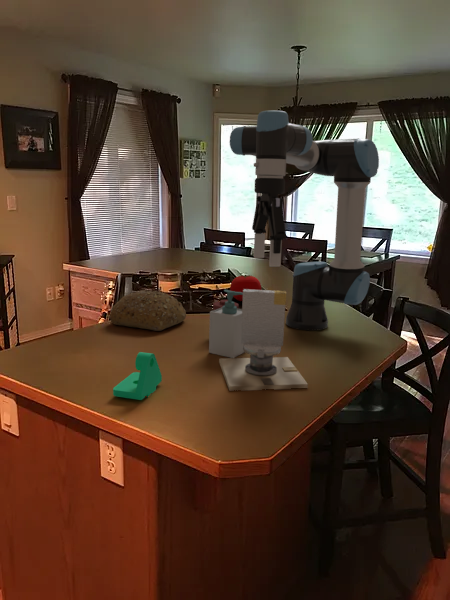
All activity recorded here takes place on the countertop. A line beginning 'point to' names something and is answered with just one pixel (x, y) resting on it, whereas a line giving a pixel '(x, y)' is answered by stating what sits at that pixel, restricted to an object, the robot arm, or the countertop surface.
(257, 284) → the tomato
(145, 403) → the countertop surface
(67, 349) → the countertop surface
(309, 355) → the countertop surface
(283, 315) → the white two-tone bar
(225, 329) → the soap bottle
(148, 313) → the bread
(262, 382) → the board
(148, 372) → the camera mount
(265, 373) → the metal spool
